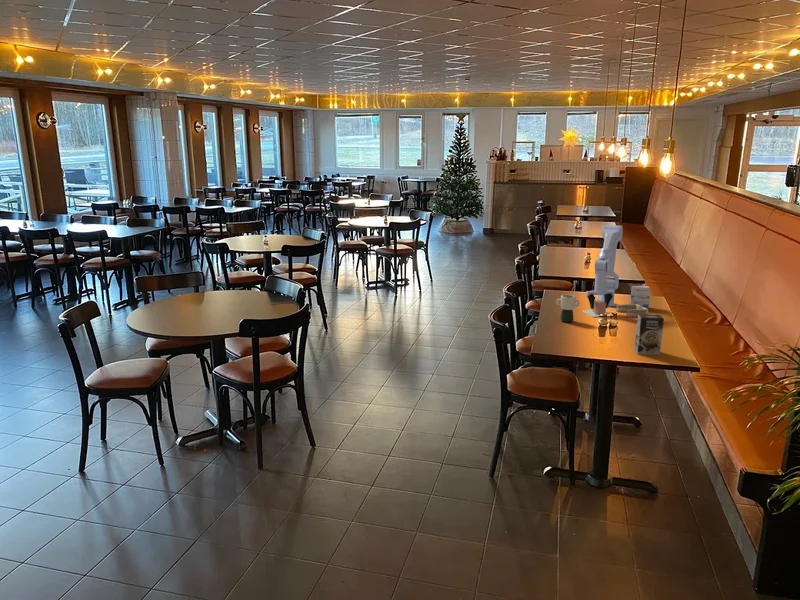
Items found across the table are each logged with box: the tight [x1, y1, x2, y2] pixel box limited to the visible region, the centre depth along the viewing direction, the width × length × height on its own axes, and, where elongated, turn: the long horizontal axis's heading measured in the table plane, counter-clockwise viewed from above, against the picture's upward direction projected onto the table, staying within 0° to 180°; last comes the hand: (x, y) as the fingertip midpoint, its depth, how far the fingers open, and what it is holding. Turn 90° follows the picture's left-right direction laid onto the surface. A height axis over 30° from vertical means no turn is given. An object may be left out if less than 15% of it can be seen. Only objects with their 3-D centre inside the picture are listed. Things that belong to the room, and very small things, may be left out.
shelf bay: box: [616, 303, 649, 318], centre depth 312 cm, size 11×11×4 cm
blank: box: [592, 299, 607, 315], centre depth 311 cm, size 6×4×6 cm, turn 9°
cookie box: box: [634, 313, 665, 356], centre depth 251 cm, size 9×6×16 cm
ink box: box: [629, 285, 651, 310], centre depth 322 cm, size 8×5×12 cm, turn 84°
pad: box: [582, 309, 611, 318], centre depth 313 cm, size 12×12×1 cm
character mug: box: [556, 294, 580, 323], centre depth 298 cm, size 11×7×13 cm, turn 71°
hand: (598, 308), depth 312 cm, fingers open, 7 cm apart
